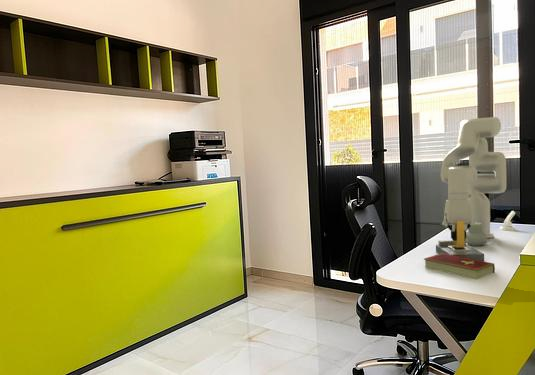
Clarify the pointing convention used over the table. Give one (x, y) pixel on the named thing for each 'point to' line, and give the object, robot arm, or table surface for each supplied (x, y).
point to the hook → (508, 223)
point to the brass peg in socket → (459, 234)
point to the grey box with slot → (459, 250)
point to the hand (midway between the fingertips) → (458, 239)
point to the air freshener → (475, 235)
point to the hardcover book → (459, 265)
